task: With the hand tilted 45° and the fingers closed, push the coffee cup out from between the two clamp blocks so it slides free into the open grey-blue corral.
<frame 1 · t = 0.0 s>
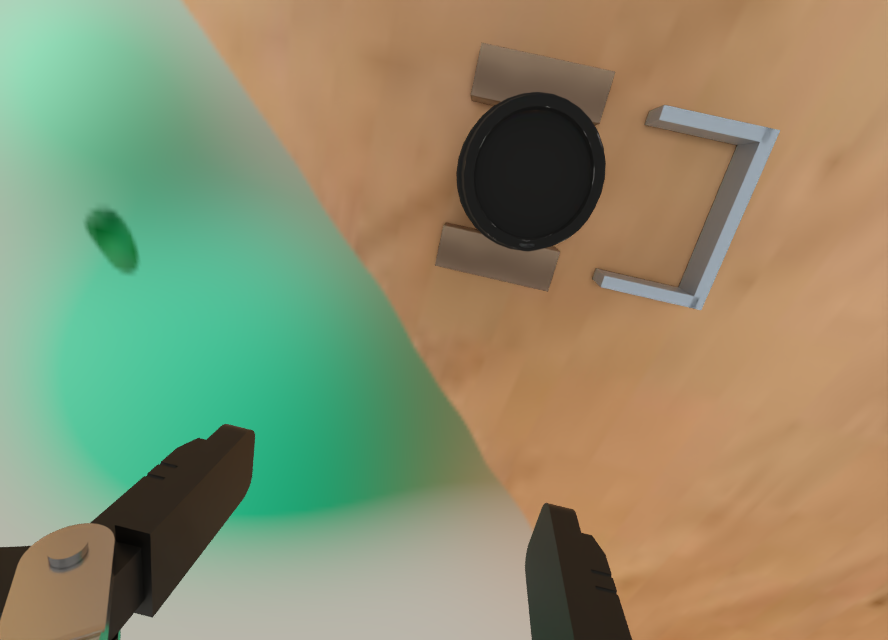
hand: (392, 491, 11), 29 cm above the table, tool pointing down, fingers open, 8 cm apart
corral: (665, 210, 36), on the table
clamp blocks: (515, 177, 36), on the table
coffee cup: (515, 177, 36), on the table
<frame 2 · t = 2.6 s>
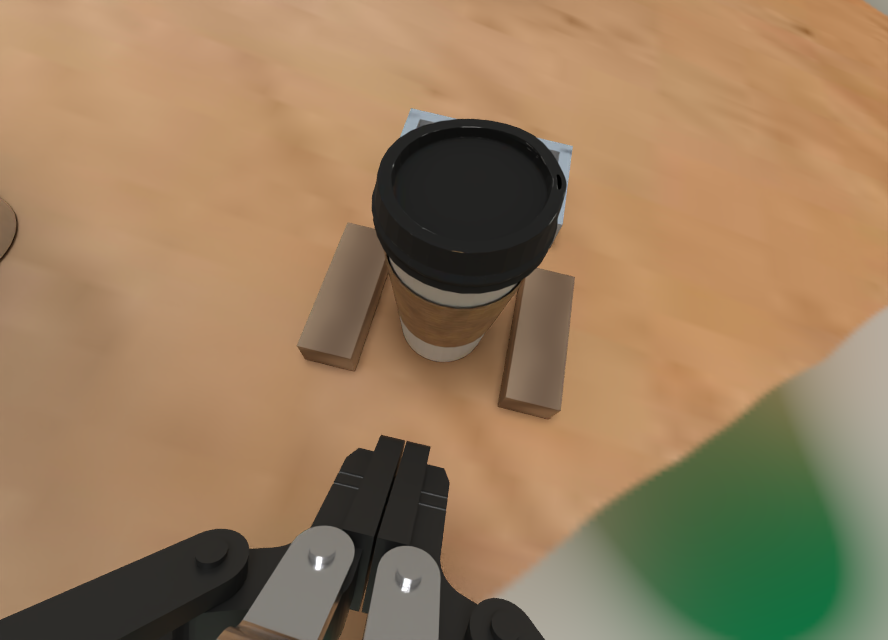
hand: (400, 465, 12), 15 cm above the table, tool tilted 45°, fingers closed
corral: (476, 191, 36), on the table
clamp blocks: (442, 324, 31), on the table
coffee cup: (442, 325, 31), on the table
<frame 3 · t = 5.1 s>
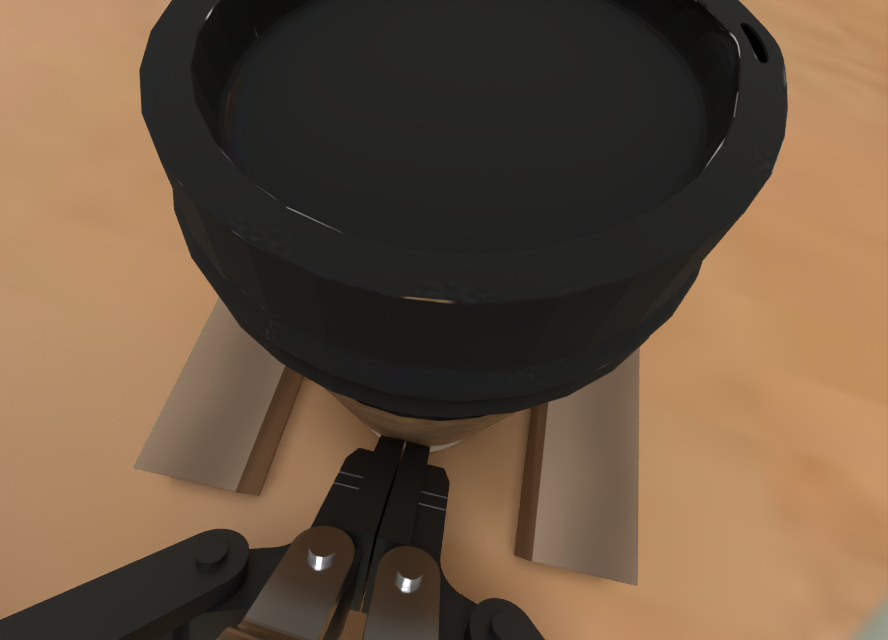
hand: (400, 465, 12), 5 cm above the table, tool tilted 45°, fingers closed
clamp blocks: (416, 399, 18), on the table
coffee cup: (422, 384, 19), on the table, touching gripper
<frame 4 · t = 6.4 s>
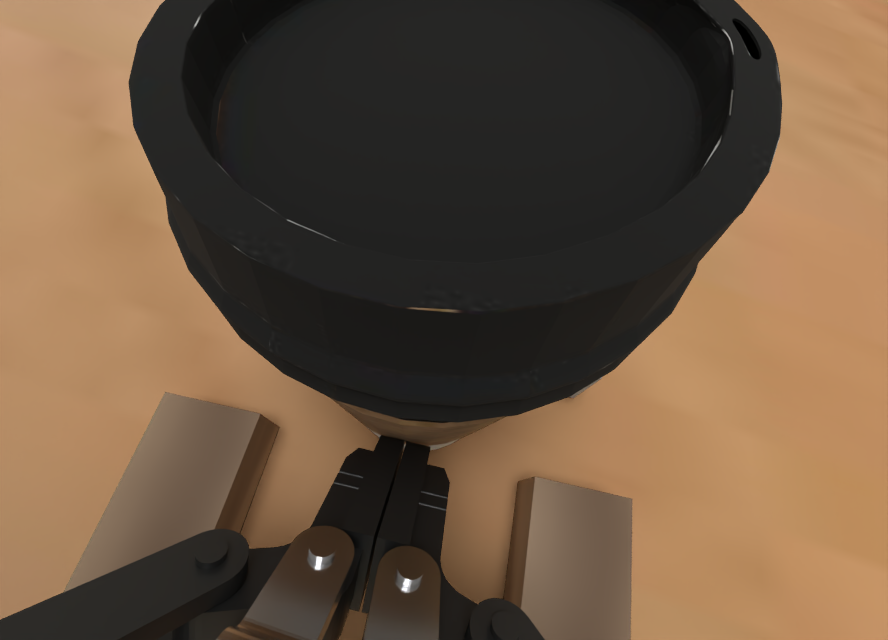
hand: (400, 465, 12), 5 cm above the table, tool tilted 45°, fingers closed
clamp blocks: (363, 596, 15), on the table
coffee cup: (420, 383, 19), on the table, touching gripper
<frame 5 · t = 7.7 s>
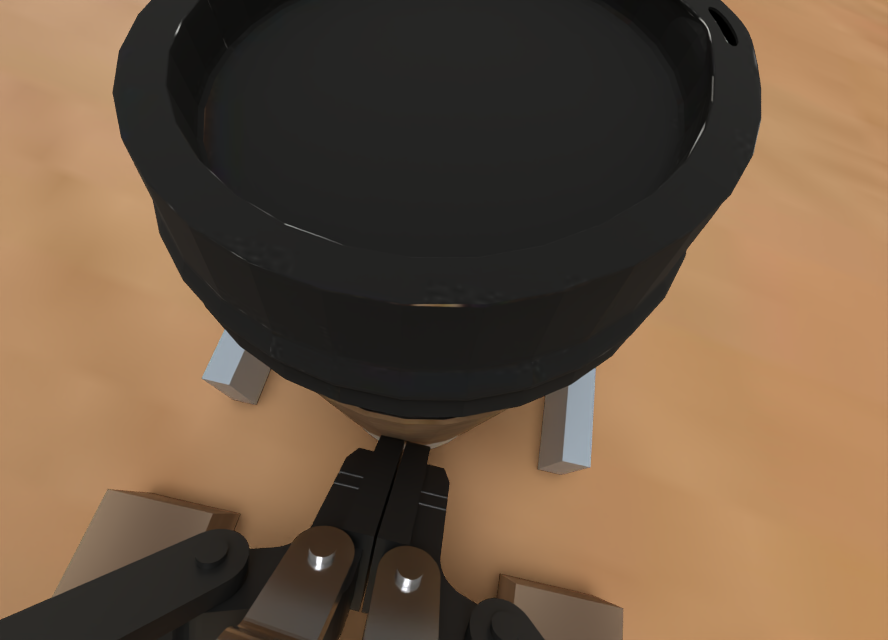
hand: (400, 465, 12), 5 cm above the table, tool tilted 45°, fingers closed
corral: (418, 349, 19), on the table
coffee cup: (415, 383, 19), on the table, touching gripper
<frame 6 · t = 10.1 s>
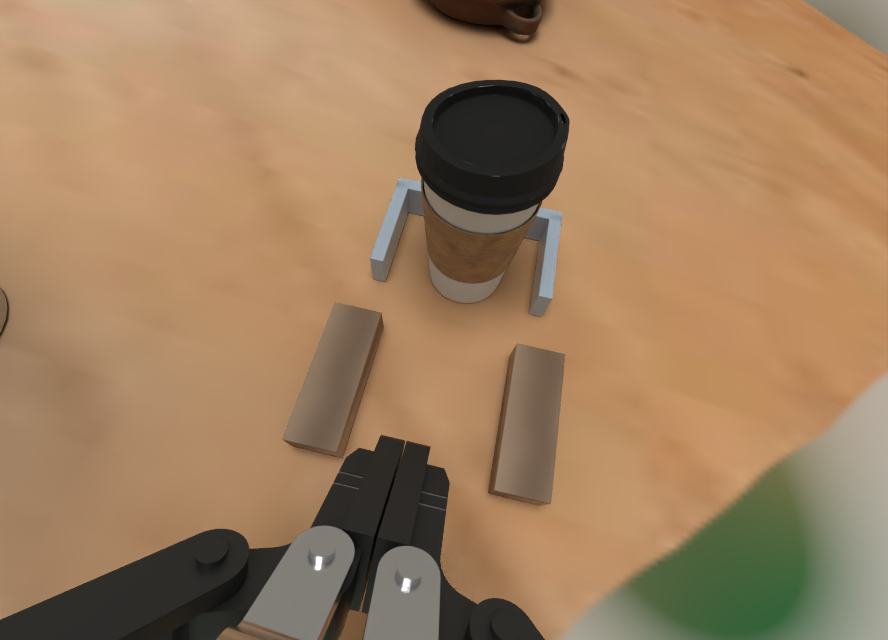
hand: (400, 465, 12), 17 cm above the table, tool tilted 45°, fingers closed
dish: (479, 0, 54), on the table
corral: (466, 258, 36), on the table
clamp blocks: (431, 403, 30), on the table
coffee cup: (464, 274, 36), on the table
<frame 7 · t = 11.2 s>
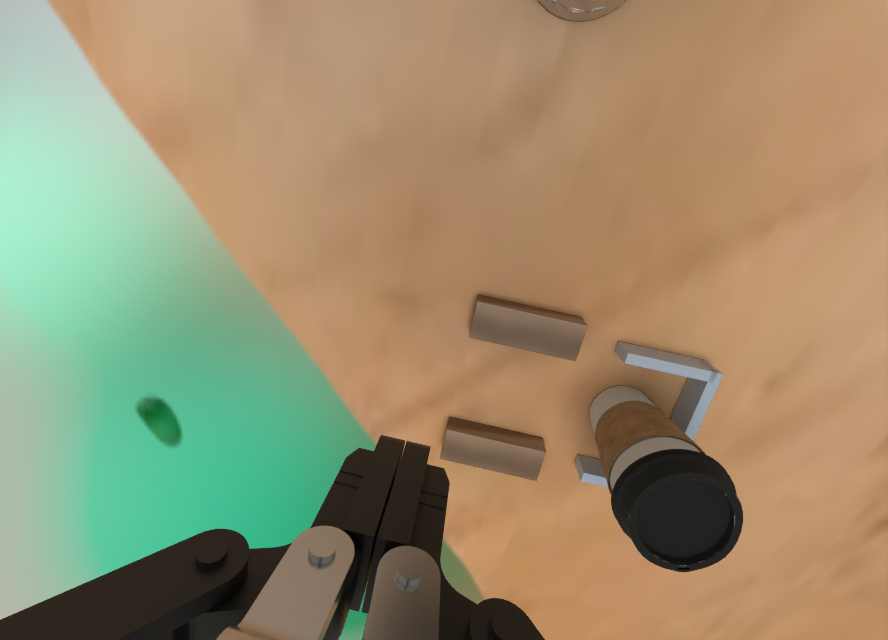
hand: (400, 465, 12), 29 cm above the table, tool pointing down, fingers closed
corral: (634, 413, 42), on the table
clamp blocks: (507, 385, 43), on the table
coffee cup: (618, 410, 43), on the table
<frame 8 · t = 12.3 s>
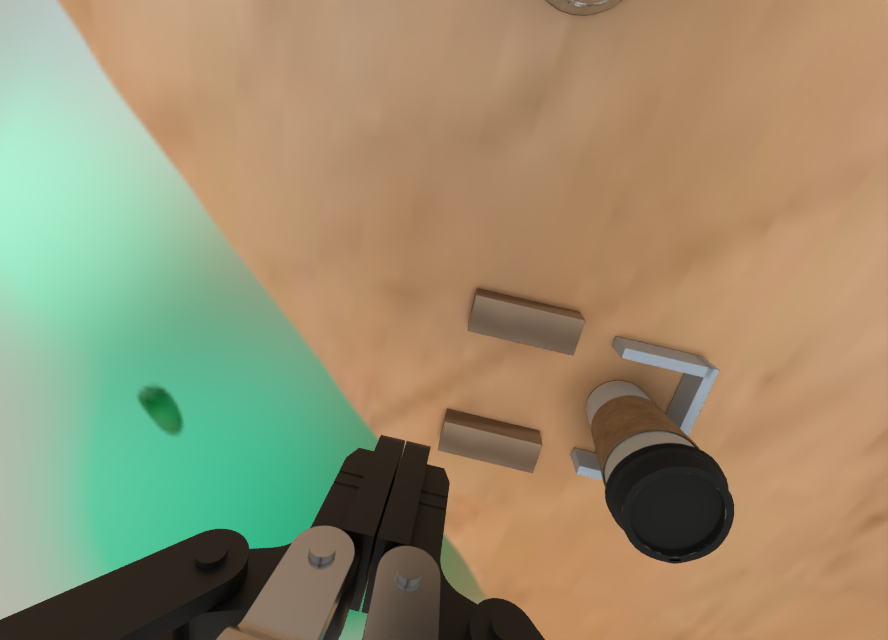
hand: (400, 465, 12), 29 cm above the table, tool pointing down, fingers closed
corral: (630, 408, 43), on the table
clamp blocks: (505, 378, 43), on the table
coffee cup: (615, 405, 43), on the table
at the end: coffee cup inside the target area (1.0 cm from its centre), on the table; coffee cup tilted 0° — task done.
